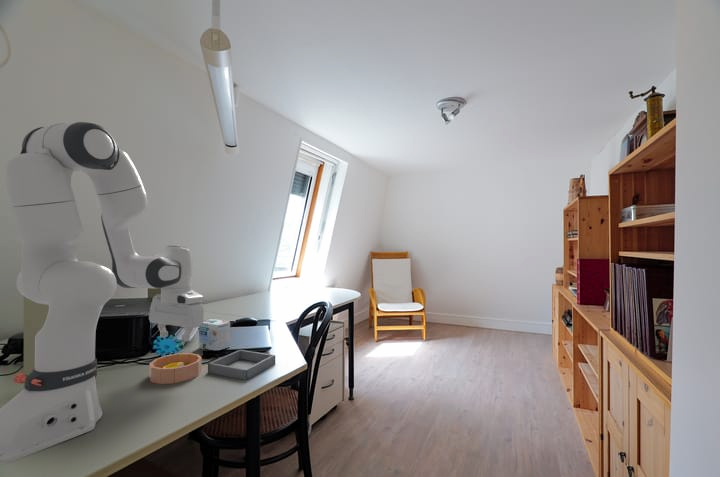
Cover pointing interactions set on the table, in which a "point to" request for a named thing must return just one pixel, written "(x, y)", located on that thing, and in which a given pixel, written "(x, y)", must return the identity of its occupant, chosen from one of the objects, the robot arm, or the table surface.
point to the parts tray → (222, 369)
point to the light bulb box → (214, 333)
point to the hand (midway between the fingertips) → (174, 338)
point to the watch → (174, 365)
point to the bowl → (175, 374)
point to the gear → (167, 346)
